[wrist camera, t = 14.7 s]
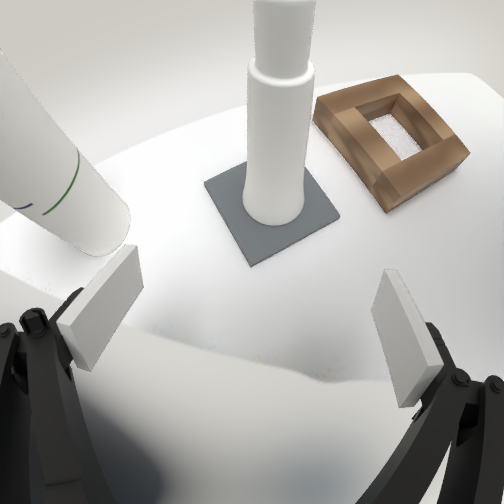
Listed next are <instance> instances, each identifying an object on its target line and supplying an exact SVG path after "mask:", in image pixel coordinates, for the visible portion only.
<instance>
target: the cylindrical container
mask: <svg viewBox="0 0 504 504" xmlns="http://www.w3.org/2000/svg"><path fill="white" fill-rule="evenodd" d="M0 200H1V201H3V202H4V203H6V204H7V205H9V206H11V207H12V208H13V209H15V210H16V211H18V212H19V213H21V214H22V215H24V216H26V217H27V218H29V219H30V220H32V221H33V222H35V223H37V224H38V225H40V226H41V227H43V228H45V229H46V230H48V231H50V232H51V233H53V234H55V235H56V236H58V237H59V238H61V239H63V240H64V241H66V242H68V243H70V244H71V245H73V246H75V247H76V248H78V249H80V250H81V251H83V252H85V253H87V254H89V255H91V256H104V255H107V254H109V253H111V252H112V251H114V250H115V249H116V248H117V247H118V246H119V245H120V244H121V243H122V242H123V240H124V239H125V237H126V235H127V233H128V230H129V226H130V212H129V208H128V207H127V205H126V203H125V202H124V201H123V200H122V199H121V198H120V197H119V196H118V194H117V193H116V192H115V191H114V190H113V189H112V188H111V187H110V186H109V184H108V183H107V182H106V181H105V180H104V179H103V178H102V177H101V175H100V174H99V173H98V172H97V171H96V170H95V169H94V167H93V166H92V165H91V164H90V163H89V162H88V161H87V159H86V158H85V157H84V156H83V155H82V154H81V153H80V151H79V150H78V149H77V148H76V147H75V145H74V144H73V143H72V142H71V140H70V139H69V138H68V137H67V136H66V135H65V133H64V132H63V131H62V130H61V128H60V127H59V126H58V125H57V124H56V122H55V121H54V120H53V119H52V117H51V116H50V115H49V114H48V112H47V111H46V110H45V109H44V107H43V106H42V105H41V103H40V102H39V101H38V100H37V98H36V97H35V96H34V94H33V93H32V92H31V91H30V89H29V88H28V87H27V85H26V84H25V83H24V81H23V80H22V79H21V77H20V76H19V75H18V73H17V72H16V70H15V69H14V68H13V66H12V65H11V64H10V62H9V61H8V59H7V58H6V56H5V55H4V54H3V52H2V51H1V49H0Z"/></svg>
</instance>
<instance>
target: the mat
mask: <svg viewBox="0 0 504 504" xmlns="http://www.w3.org/2000/svg"><path fill="white" fill-rule="evenodd" d="M246 172H247V161H246V162H244V163H242V164H240V165H238V166H236V167H233V168H231V169H229V170H227V171H225V172H223V173H221V174H219V175H217V176H215V177H213V178H211V179H209V180H207V181H205V182H204V185H205V187H206V188H207V190H208V192H209V194H210V196H211V197H212V199H213V201H214V203H215V204H216V206H217V208H218V210H219V211H220V213H221V215H222V217H223V219H224V220H225V222H226V224H227V226H228V227H229V229H230V231H231V233H232V234H233V236H234V238H235V240H236V241H237V243H238V245H239V247H240V248H241V250H242V252H243V254H244V255H245V257H246V259H247V261H248V262H249V264H250V266H251V267H252V266H254V265H256V264H257V263H259V262H261V261H263V260H265V259H267V258H268V257H270V256H272V255H274V254H276V253H278V252H279V251H281V250H283V249H285V248H287V247H288V246H290V245H292V244H294V243H296V242H297V241H299V240H301V239H303V238H305V237H306V236H308V235H310V234H312V233H314V232H315V231H317V230H319V229H321V228H323V227H324V226H326V225H328V224H330V223H332V222H333V221H335V220H337V219H339V218H340V215H339V213H338V212H337V210H336V209H335V207H334V206H333V204H332V203H331V202H330V200H329V199H328V197H327V196H326V195H325V193H324V192H323V190H322V189H321V188H320V186H319V185H318V183H317V182H316V181H315V179H314V178H313V177H312V175H311V174H310V173H309V171H308V170H307V169H306V167H304V180H303V187H304V205H303V208H302V210H301V212H300V214H299V215H298V216H297V217H296V218H295V219H294V220H292V221H291V222H289V223H286V224H283V225H278V226H270V225H265V224H262V223H260V222H258V221H256V220H254V219H253V218H252V217H251V216H250V215H249V214H248V213H247V211H246V210H245V207H244V205H243V199H242V196H243V190H244V186H245V181H246Z"/></svg>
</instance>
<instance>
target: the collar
mask: <svg viewBox="0 0 504 504" xmlns="http://www.w3.org/2000/svg"><path fill="white" fill-rule="evenodd" d="M388 113H391V114H392V115H393V116H394V117H395V118H396V120H397V121H398V122H399V123H400V124H401V125H402V126H403V127H404V128H405V130H406V131H407V132H408V133H409V134H410V135H411V136H412V138H413V139H414V140H415V141H416V142H417V143H418V145H419V146H420V147H421V148H422V149H423V151H421V152H419V153H417V154H415V155H413V156H411V157H409V158H407V159H405V160H403V161H401V159H400V158H399V157H398V156H397V154H396V153H395V152H394V151H393V150H392V148H391V147H390V146H389V145H388V144H387V142H386V141H385V140H384V139H383V138H382V137H381V136H380V134H379V133H378V132H377V131H376V130H375V129H374V128H373V127H372V125H371V124H370V123H369V122H368V121H369V120H372V119H375V118H377V117H380V116H383V115H386V114H388ZM313 121H314V122H315V124H316V125H317V126H318V127H319V128H320V129H321V130H322V132H323V133H324V134H325V135H326V136H327V137H328V139H329V140H330V141H331V142H332V143H333V144H334V146H335V147H336V148H337V149H338V150H339V152H340V153H341V154H342V155H343V157H344V158H345V159H346V160H347V162H348V163H349V164H350V165H351V167H352V168H353V169H354V171H355V172H356V173H357V174H358V176H359V177H360V178H361V180H362V181H363V182H364V184H365V185H366V186H367V188H368V189H369V190H370V192H371V193H372V194H373V196H374V197H375V199H376V200H377V201H378V203H379V204H380V206H381V207H382V209H383V210H384V211H385V213H387V212H389V211H390V210H392V209H394V208H395V207H397V206H399V205H400V204H402V203H403V202H405V201H407V200H408V199H410V198H411V197H413V196H415V195H416V194H418V193H419V192H421V191H422V190H424V189H426V188H427V187H429V186H430V185H432V184H433V183H435V182H437V181H438V180H440V179H441V178H443V177H444V176H446V175H447V174H449V173H451V172H452V171H454V170H455V169H456V168H457V167H458V166H459V165H460V164H461V163H462V162H463V161H464V160H465V159H466V157H467V156H468V155H469V154H470V152H469V150H468V149H467V148H466V147H465V145H464V144H463V143H462V142H461V140H460V139H459V138H458V137H457V135H456V134H455V133H454V132H453V131H452V129H451V128H450V127H449V126H448V125H447V124H446V122H445V121H444V120H443V119H442V118H441V117H440V116H439V115H438V114H437V112H436V111H435V110H434V109H433V108H432V107H431V106H430V105H429V104H428V103H427V102H426V101H425V100H424V99H423V98H422V97H421V96H420V95H419V94H418V93H417V92H416V91H415V90H414V89H413V88H412V87H411V86H410V85H409V84H408V83H407V82H406V81H405V80H404V79H402V78H401V77H400V76H399V75H394V76H390V77H385V78H381V79H377V80H374V81H370V82H366V83H362V84H359V85H355V86H352V87H348V88H345V89H341V90H338V91H335V92H332V93H329V94H325V95H322V96H319V97H317V100H316V105H315V110H314V115H313Z"/></svg>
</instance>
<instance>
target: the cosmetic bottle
mask: <svg viewBox="0 0 504 504" xmlns="http://www.w3.org/2000/svg"><path fill="white" fill-rule="evenodd" d="M315 4H316V0H253V12H254V37H255V56H254V57H253V58H252V59H251V60H250V62H249V64H248V80H247V81H248V82H247V172H246V181H245V186H244V190H243V196H242V199H243V205H244V207H245V210H246V211H247V213H248V214H249V215H250V216H251V217H252V218H253V219H254V220H256V221H258V222H260V223H262V224H265V225H270V226H278V225H283V224H286V223H289V222H291V221H292V220H294V219H295V218H296V217H297V216H298V215H299V214H300V212H301V210H302V208H303V205H304V187H303V180H304V167H305V158H306V150H307V142H308V134H309V126H310V119H311V110H312V101H313V90H314V75H315V69H314V66H313V64H312V62H311V61H310V60H309V54H310V46H311V38H312V30H313V21H314V12H315Z"/></svg>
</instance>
